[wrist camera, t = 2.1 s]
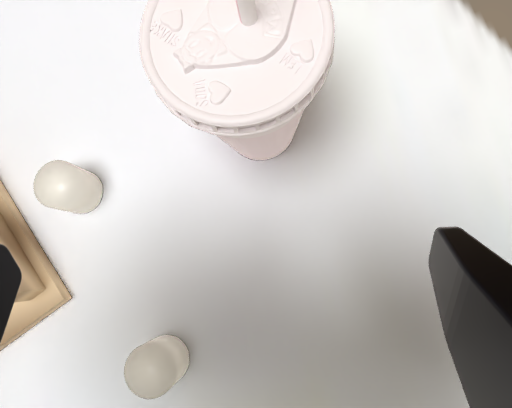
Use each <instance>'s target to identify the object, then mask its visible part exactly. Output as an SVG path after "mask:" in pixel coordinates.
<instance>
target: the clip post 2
mask: <svg viewBox="0 0 512 408" xmlns="http://www.w3.org/2000/svg"><path fill="white" fill-rule="evenodd" d="M189 361H190V357H189V352H188V349H187V347H186V345H185V344H184V342H183V341H182V340H180V339H179V338H177V337H175V336H172V335H161V336H158V337H156V338H154V339H152V340H150V341H149V342H147V343H145V344H143V345H141V346H139V347H137V348H136V349H134V350H133V351H132V352H131V353H130V355H129V356H128V358H127V360H126V363H125V367H124V377H125V381H126V383H127V385H128V387H129V389H130V390H131V391H132V392H133V393H134V394H135V395H137V396H139V397H141V398H144V399H155V398H158V397H161V396H162V395H164V394H165V393H166V392H167V391H168V390H170V389H171V388H172V387H173V386H174V385H175V384H176V383H177V382H178V381H179V380H180V379H181V378H182V377H183V376H184V374H185V373H186V371H187V369H188V367H189Z"/></svg>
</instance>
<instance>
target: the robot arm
mask: <svg viewBox="0 0 512 408" xmlns="http://www.w3.org/2000/svg"><path fill="white" fill-rule="evenodd" d="M429 269H430V274H431V278H432V283H433V287H434V292H435V296H436V300H437V305H438V309H439V313H440V318H441V322H442V327H443V331H444V335H445V338H446V341H447V344H448V348H449V350H450V353H451V356H452V359H453V362H454V364H455V367H456V370H457V373H458V376H459V378H460V381H461V384H462V387H463V389H464V392H465V395H466V398H467V401H468V403H469V406H470V408H512V265H511V264H509V263H508V262H506V261H505V260H504V259H502V258H501V257H500V256H498V255H497V254H495V253H494V252H493V251H491V250H490V249H489V248H487V247H486V246H485V245H483V244H482V243H480V242H479V241H478V240H476V239H475V238H474V237H472V236H471V235H469V234H468V233H467V232H465V231H464V230H463V229H461V228H459V227H439V228H437V229H436V230H435V232H434V236H433V241H432V245H431V250H430V255H429ZM21 280H22V273H21V270H20V268H19V266H18V264H17V263H16V261H15V259H14V258H13V256H12V254H11V253H10V251H9V249H8V248H7V247H6V246H5V245H3V244H0V343H1V340H2V337H3V334H4V332H5V329H6V326H7V323H8V320H9V317H10V314H11V311H12V308H13V305H14V302H15V299H16V296H17V293H18V290H19V287H20V284H21Z"/></svg>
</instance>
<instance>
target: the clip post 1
mask: <svg viewBox="0 0 512 408" xmlns="http://www.w3.org/2000/svg"><path fill="white" fill-rule="evenodd" d="M34 193H35V196H36V198H37V199H38V201H39V202H40V203H41V204H43V205H44V206H46V207H49V208H54V209H58V210H63V211H67V212H72V213H76V214H85V213H88V212H91V211H92V210H94V209H95V208H96V207H97V206H98V205H99V203H100V201H101V199H102V196H103V186H102V183H101V181H100V179H99V178H98V177H97V176H96V175H95V174H93V173H91V172H89V171H87V170H84V169H82V168H80V167H78V166H75V165H73V164H71V163H68V162H66V161H62V160H55V161H51V162H49V163H47V164H45V165H44V166H43V167H42V168H41V169H40V170H39V171H38V173H37V174H36V176H35V179H34Z"/></svg>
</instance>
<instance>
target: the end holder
mask: <svg viewBox="0 0 512 408" xmlns="http://www.w3.org/2000/svg"><path fill="white" fill-rule="evenodd" d="M0 244H3V245H5V246H6V247H7V248H8V249H9V251H10V253H11V254H12V256H13V258H14V259H15V261H16V263H17V264H18V266H19V268H20V270H21V273H22V280H21V284H20V287H19V290H18V293H17V296H16V299H15V302H14V305H13V308H12V311H11V314H10V317H9V320H8V323H7V326H6V329H5V332H4V334H3V337H2V340H1V343H0V350H2V349H3V348H4V347H6V346H7V345H9V344H10V343H11V342H13V341H14V340H15V339H17V338H18V337H20V336H21V335H22V334H24V333H25V332H26V331H28V330H29V329H31V328H32V327H33V326H35V325H36V324H37V323H39V322H40V321H41V320H43V319H44V318H46V317H47V316H48V315H50V314H51V313H52V312H54V311H55V310H57V309H58V308H59V307H61V306H62V305H63V304H65V303H66V302H68V301H69V300H70V299H72V297H71V295H70V294H69V292H68V290H67V289H66V287H65V286H64V284H63V282H62V281H61V279H60V277H59V276H58V274H57V272H56V271H55V269H54V268H53V266H52V264H51V263H50V261H49V259H48V258H47V256H46V254H45V253H44V251H43V249H42V248H41V246H40V245H39V243H38V241H37V240H36V238H35V236H34V235H33V233H32V231H31V230H30V228H29V227H28V225H27V223H26V222H25V220H24V218H23V217H22V215H21V213H20V212H19V210H18V209H17V207H16V205H15V204H14V202H13V200H12V199H11V197H10V195H9V194H8V192H7V190H6V189H5V187H4V186H3V184H2V182H1V181H0Z"/></svg>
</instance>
